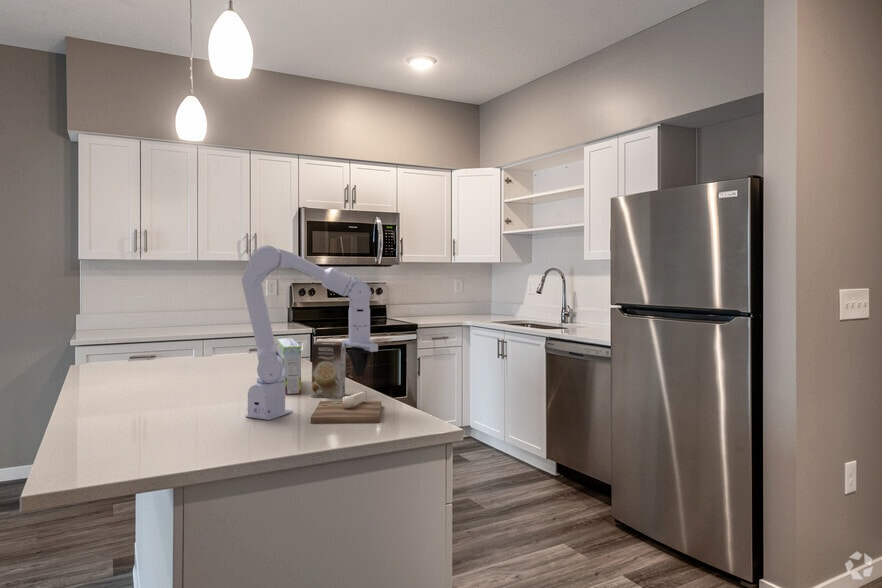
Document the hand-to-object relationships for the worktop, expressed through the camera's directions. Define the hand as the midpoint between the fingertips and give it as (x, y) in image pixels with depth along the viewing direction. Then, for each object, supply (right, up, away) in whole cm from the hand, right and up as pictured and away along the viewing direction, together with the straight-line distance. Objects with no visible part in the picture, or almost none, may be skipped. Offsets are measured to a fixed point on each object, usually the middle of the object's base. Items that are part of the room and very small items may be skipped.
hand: (359, 375), depth 159 cm
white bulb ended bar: (-1, -7, 0) cm, 7 cm away
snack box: (-27, -9, +30) cm, 41 cm away
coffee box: (-12, -9, +19) cm, 24 cm away
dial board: (-2, -10, -4) cm, 11 cm away
